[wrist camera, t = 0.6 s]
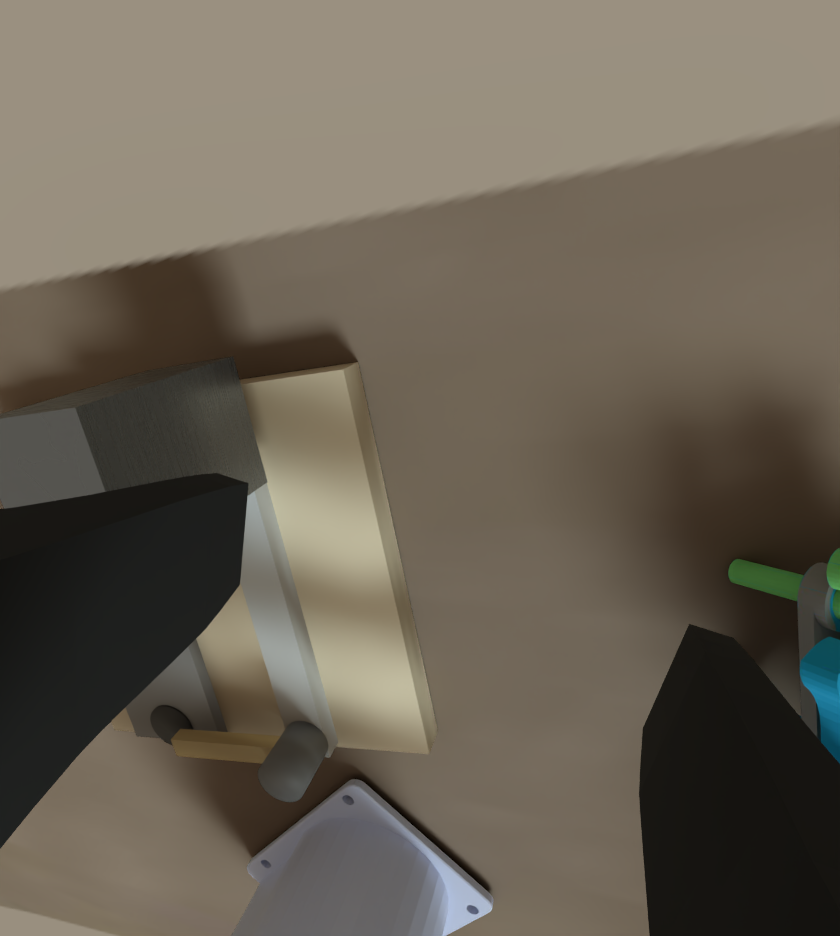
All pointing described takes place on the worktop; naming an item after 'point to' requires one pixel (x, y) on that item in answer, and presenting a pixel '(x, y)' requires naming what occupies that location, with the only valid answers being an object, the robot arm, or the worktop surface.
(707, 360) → the worktop surface
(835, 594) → the blue bumpy figurine
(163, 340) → the worktop surface
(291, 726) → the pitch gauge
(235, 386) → the grey rectangular block
